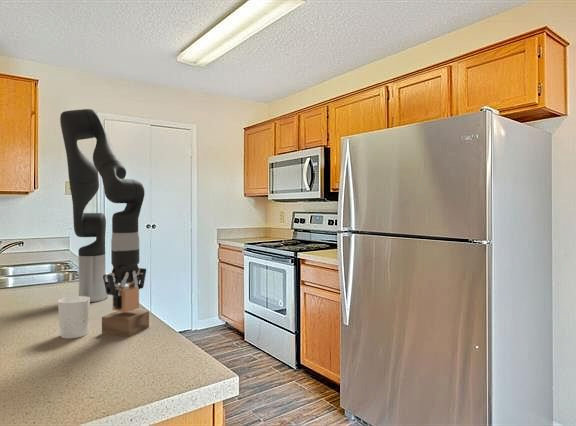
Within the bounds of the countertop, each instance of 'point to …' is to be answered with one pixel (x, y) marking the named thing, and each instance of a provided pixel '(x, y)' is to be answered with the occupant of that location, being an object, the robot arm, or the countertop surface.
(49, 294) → the countertop surface
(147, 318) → the walnut block
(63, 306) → the white cup
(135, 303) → the terracotta block
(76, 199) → the robot arm
